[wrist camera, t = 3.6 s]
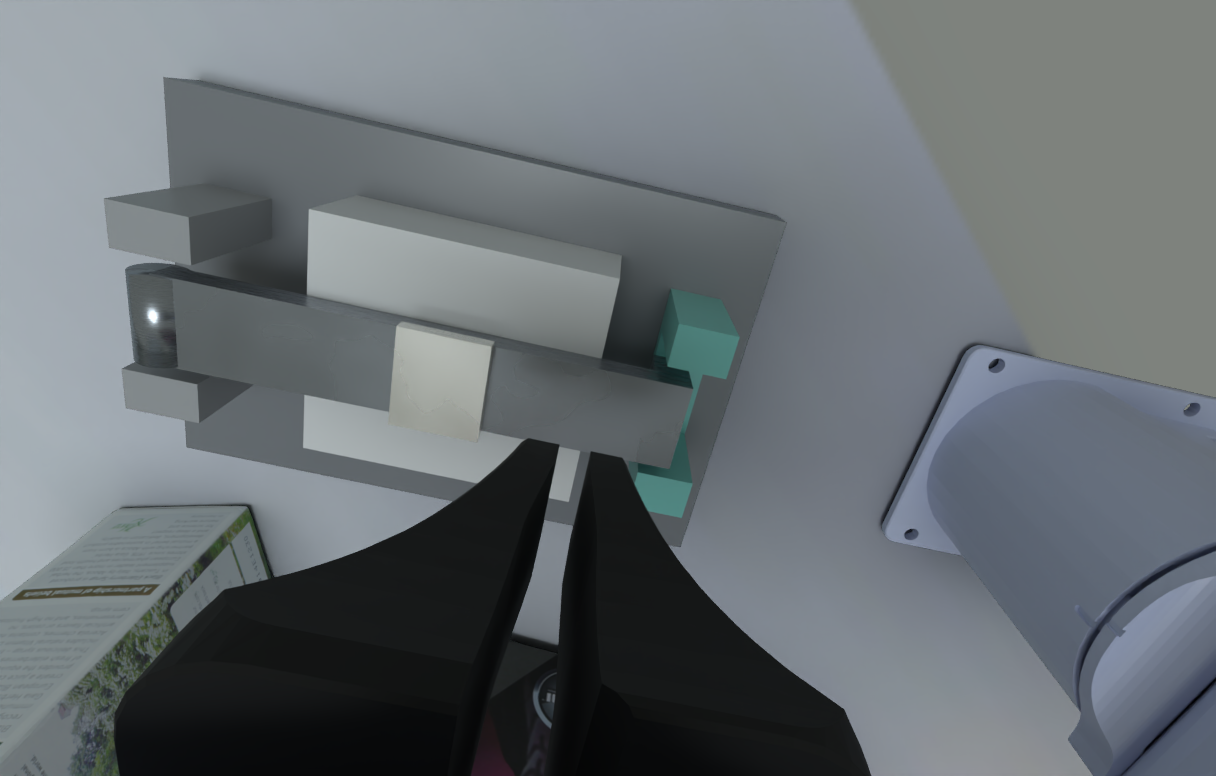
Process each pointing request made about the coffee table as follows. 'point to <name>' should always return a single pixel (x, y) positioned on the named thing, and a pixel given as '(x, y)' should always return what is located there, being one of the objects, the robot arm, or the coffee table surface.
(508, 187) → the clamp board
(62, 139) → the coffee table surface
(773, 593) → the coffee table surface
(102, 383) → the coffee table surface
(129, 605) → the syrup box
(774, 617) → the coffee table surface
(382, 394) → the clamp strap
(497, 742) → the graphics card box
